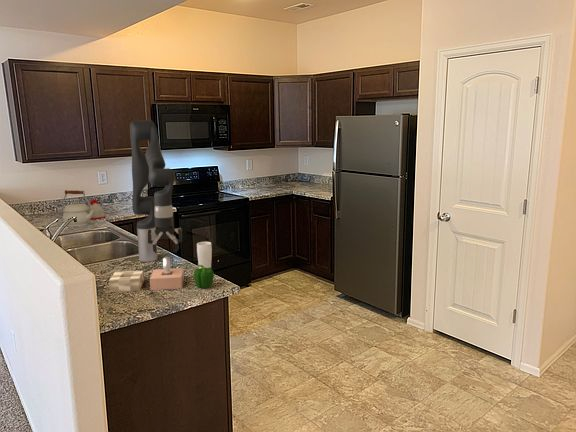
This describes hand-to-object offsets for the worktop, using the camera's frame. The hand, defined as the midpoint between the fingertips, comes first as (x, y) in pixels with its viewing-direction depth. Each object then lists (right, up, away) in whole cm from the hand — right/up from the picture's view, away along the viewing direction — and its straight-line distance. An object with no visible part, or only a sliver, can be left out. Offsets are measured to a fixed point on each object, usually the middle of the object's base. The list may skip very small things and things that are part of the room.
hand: (166, 252), depth 193 cm
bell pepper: (+17, -15, -1) cm, 23 cm away
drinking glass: (+14, -12, +16) cm, 24 cm away
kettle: (-97, +9, +128) cm, 161 cm away
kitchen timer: (-96, +14, +152) cm, 180 cm away
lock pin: (0, -14, +3) cm, 15 cm away
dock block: (0, -14, +3) cm, 15 cm away
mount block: (-17, -15, 0) cm, 22 cm away
